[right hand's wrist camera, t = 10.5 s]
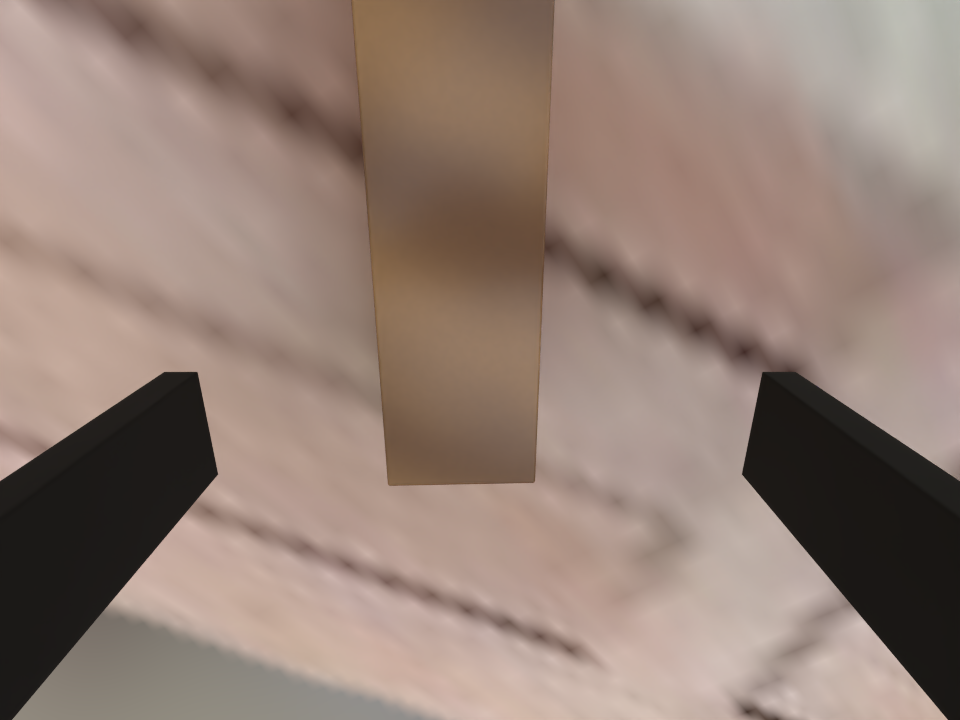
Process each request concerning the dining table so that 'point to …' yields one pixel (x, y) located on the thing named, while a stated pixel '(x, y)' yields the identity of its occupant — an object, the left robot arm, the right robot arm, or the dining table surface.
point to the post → (456, 229)
